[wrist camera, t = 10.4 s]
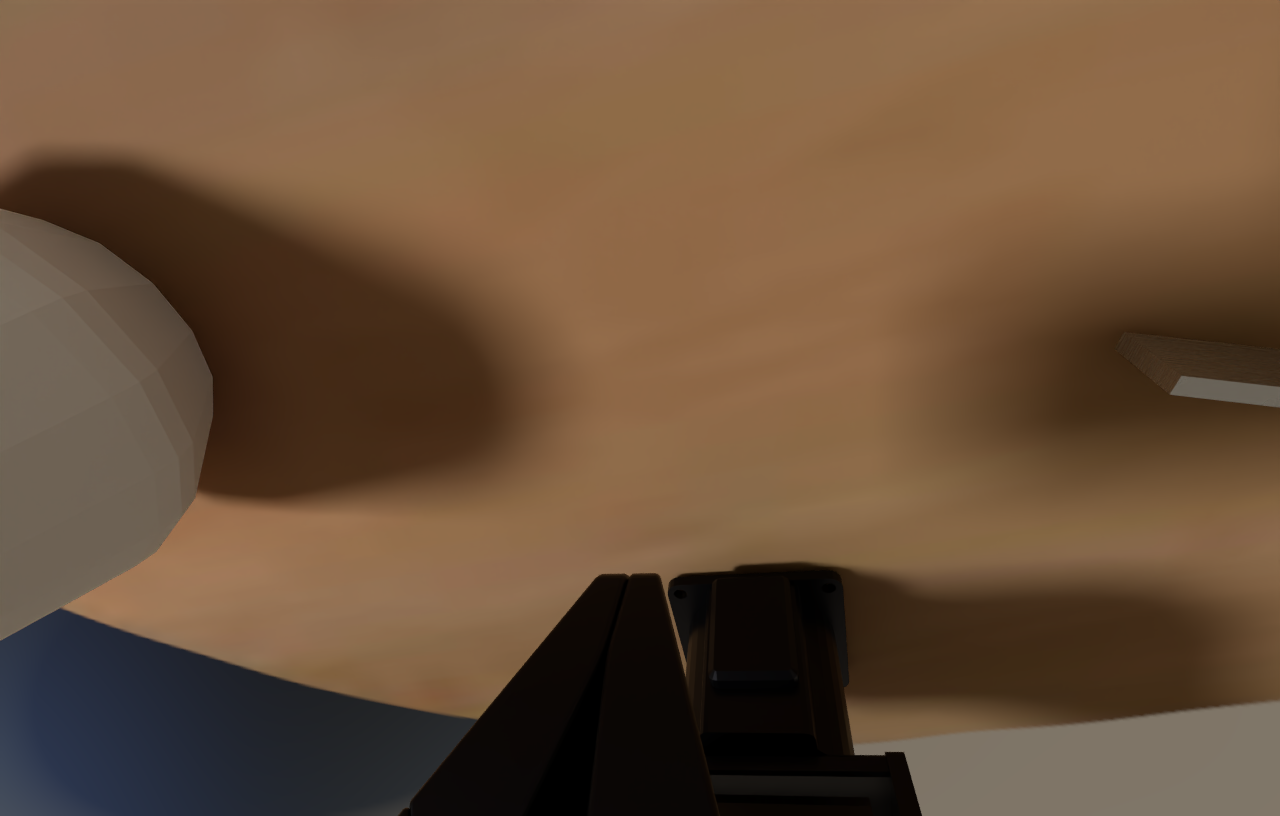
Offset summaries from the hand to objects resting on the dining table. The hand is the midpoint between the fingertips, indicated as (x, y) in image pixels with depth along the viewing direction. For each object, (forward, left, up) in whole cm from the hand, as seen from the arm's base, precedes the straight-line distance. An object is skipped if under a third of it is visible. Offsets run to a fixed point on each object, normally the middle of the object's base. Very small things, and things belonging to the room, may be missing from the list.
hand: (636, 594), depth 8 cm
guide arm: (-4, -14, -11) cm, 18 cm away
